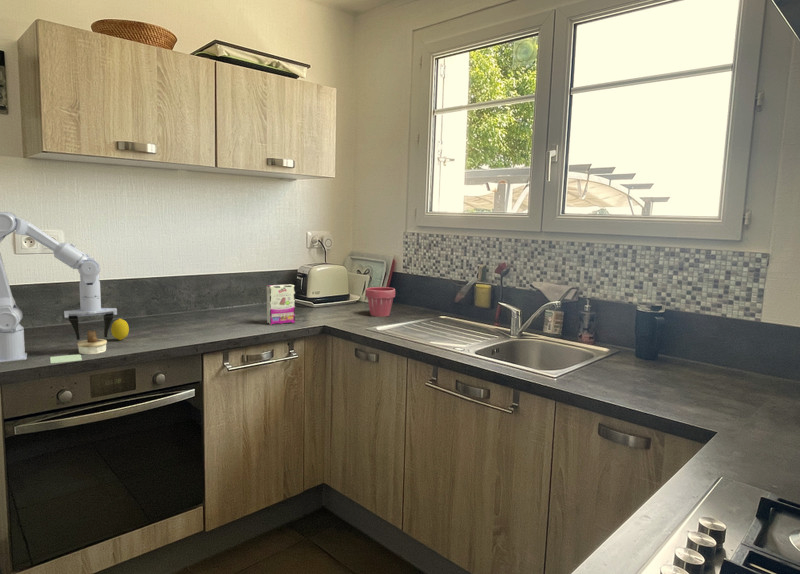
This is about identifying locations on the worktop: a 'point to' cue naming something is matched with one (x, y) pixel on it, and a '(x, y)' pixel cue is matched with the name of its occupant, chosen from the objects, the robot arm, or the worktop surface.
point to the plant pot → (380, 300)
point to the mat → (65, 358)
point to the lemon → (119, 329)
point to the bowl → (92, 349)
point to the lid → (92, 340)
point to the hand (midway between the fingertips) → (92, 338)
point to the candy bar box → (280, 304)
